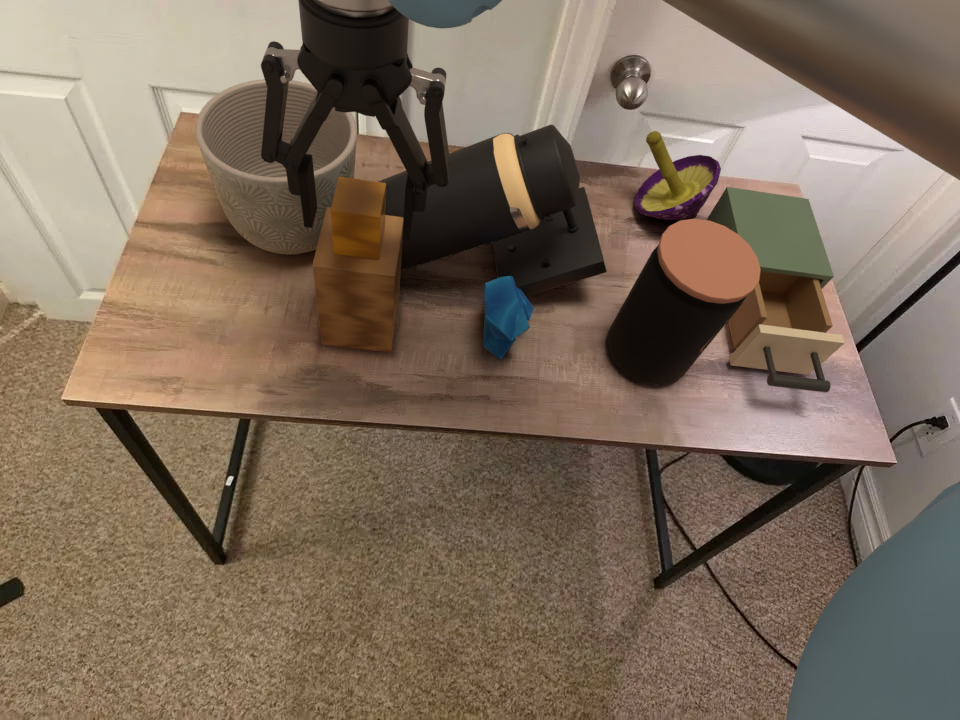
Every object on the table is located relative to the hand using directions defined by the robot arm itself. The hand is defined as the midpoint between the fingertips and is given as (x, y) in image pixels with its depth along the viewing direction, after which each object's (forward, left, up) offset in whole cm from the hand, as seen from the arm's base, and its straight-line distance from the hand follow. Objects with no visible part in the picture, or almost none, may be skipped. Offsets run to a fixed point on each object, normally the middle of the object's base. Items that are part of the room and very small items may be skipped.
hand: (359, 223), depth 62 cm
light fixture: (-1, -16, -16) cm, 23 cm away
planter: (+17, -2, -17) cm, 24 cm away
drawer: (-34, -38, -15) cm, 53 cm away
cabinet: (-25, -47, -16) cm, 56 cm away
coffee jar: (-25, -25, -17) cm, 39 cm away
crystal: (-11, -11, -16) cm, 22 cm away
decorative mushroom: (-4, -44, -5) cm, 45 cm away
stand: (0, 0, -16) cm, 16 cm away
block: (0, 0, -2) cm, 2 cm away
